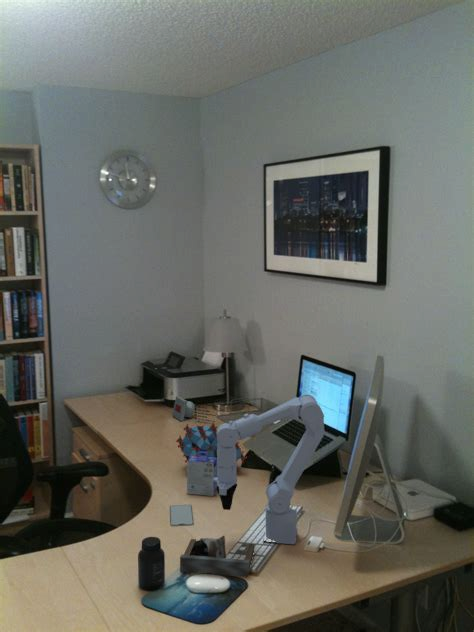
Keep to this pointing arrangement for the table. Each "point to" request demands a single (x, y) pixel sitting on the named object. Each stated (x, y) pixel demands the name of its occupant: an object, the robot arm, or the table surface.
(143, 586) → the supplement bottle
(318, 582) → the table surface
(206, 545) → the caster wheel
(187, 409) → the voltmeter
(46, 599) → the table surface
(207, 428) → the molecule model
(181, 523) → the smartphone
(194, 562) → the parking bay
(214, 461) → the ink cartridge box
